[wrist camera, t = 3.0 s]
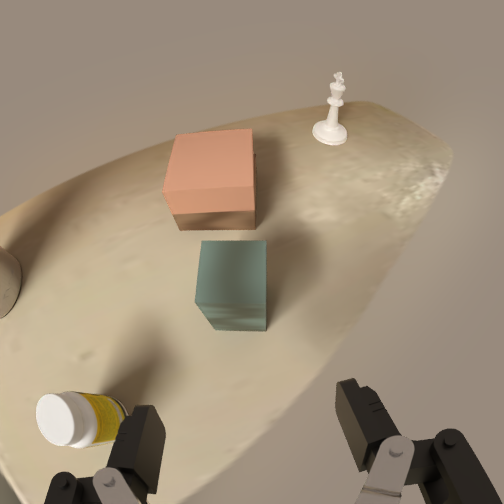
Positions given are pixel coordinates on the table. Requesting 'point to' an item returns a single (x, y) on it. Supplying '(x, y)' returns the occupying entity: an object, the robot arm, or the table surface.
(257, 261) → the green pillar block
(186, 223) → the walnut base block
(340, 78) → the chess piece
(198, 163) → the terracotta top block
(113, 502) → the robot arm
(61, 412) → the supplement bottle
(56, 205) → the table surface
